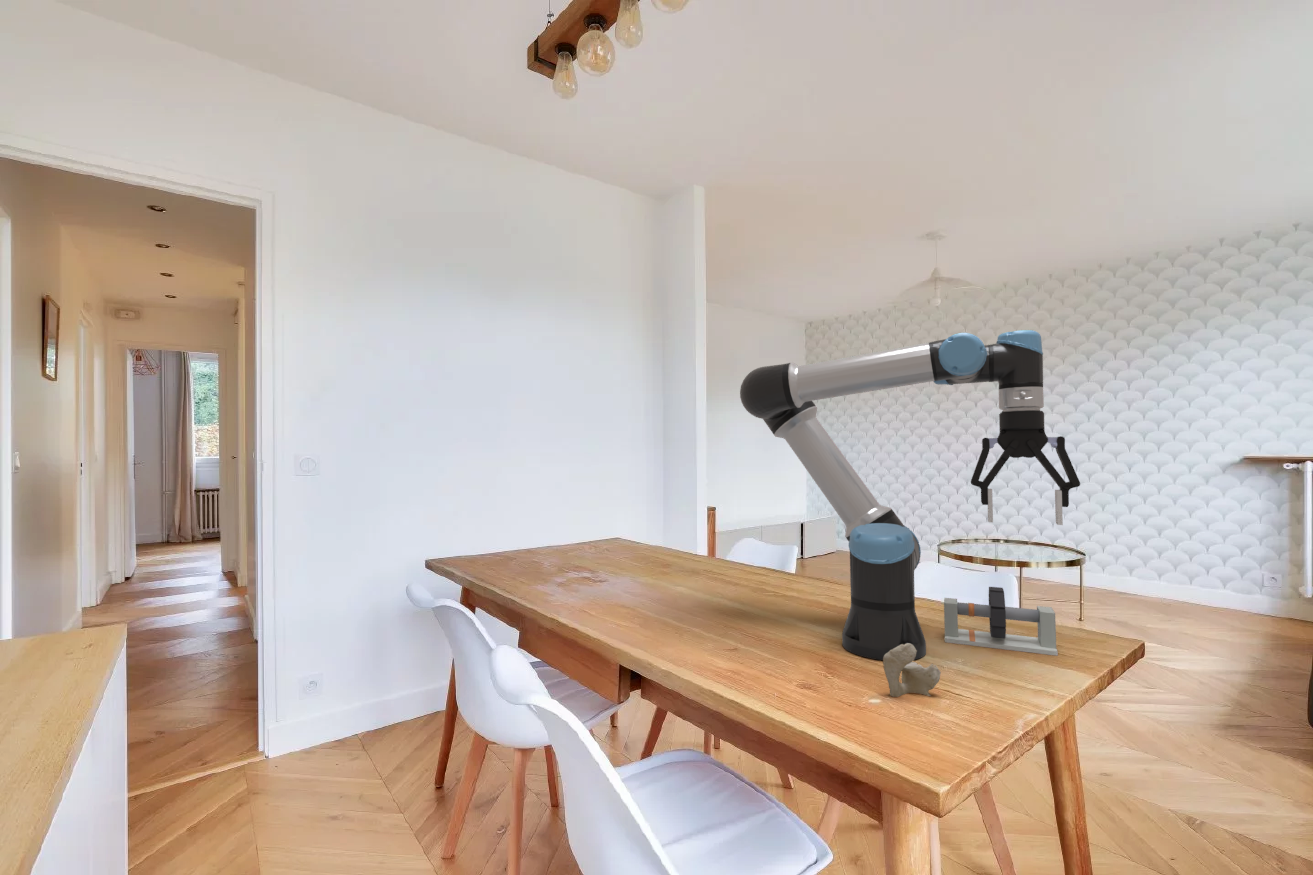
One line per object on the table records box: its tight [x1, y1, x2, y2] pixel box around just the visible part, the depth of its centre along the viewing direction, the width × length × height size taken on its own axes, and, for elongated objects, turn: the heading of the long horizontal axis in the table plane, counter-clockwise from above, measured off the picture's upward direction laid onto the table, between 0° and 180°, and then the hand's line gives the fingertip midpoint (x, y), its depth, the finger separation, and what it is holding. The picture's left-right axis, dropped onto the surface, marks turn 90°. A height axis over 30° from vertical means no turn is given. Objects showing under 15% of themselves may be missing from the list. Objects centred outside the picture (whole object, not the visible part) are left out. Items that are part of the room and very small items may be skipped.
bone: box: [882, 643, 941, 698], centre depth 93 cm, size 9×6×10 cm
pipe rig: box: [943, 597, 1059, 656], centre depth 117 cm, size 19×8×7 cm, turn 63°
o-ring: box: [988, 586, 1007, 639], centre depth 117 cm, size 2×9×9 cm, turn 153°
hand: (1024, 522), depth 115 cm, fingers open, 11 cm apart
